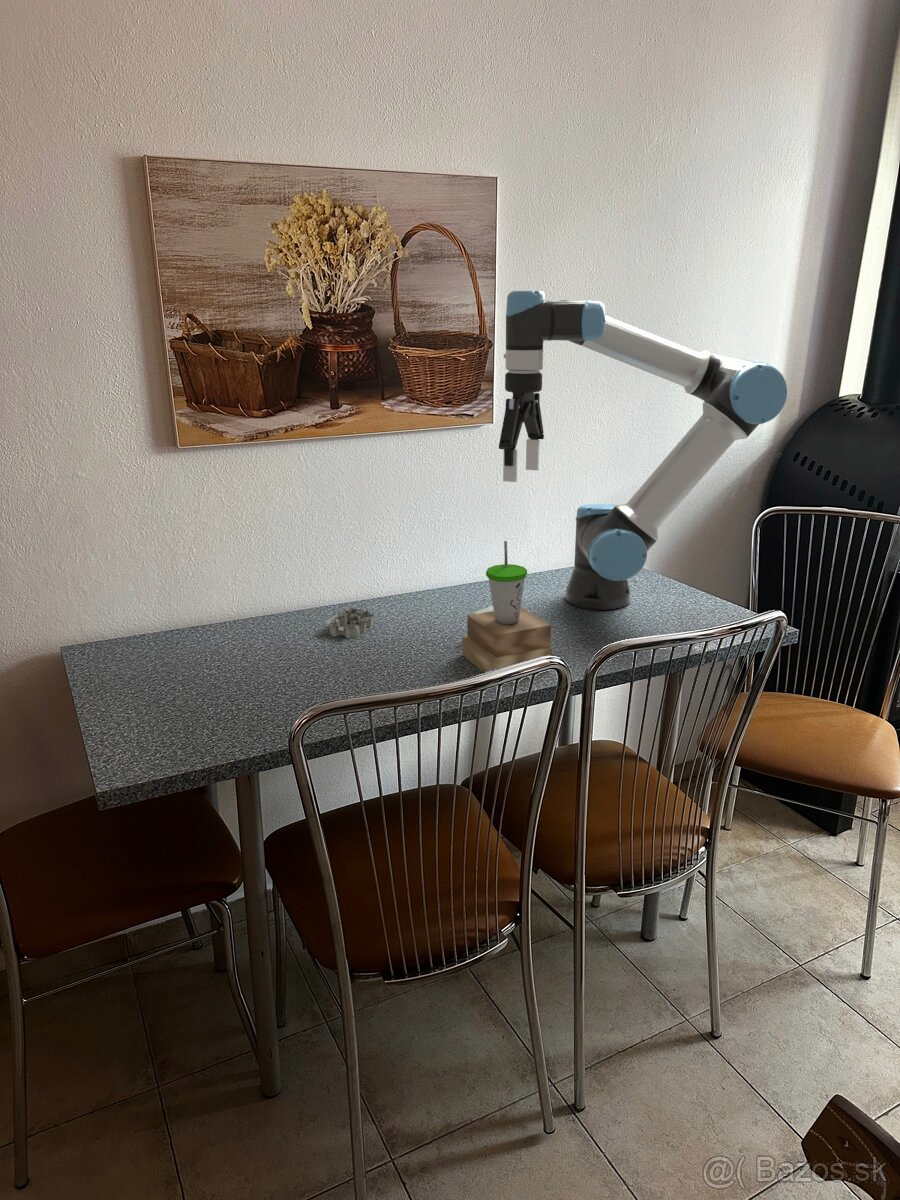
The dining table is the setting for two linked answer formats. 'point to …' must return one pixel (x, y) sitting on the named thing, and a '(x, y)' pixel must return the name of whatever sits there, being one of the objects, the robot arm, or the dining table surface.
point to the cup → (506, 590)
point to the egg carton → (357, 622)
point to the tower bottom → (490, 662)
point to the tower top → (509, 633)
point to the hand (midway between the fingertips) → (521, 475)
